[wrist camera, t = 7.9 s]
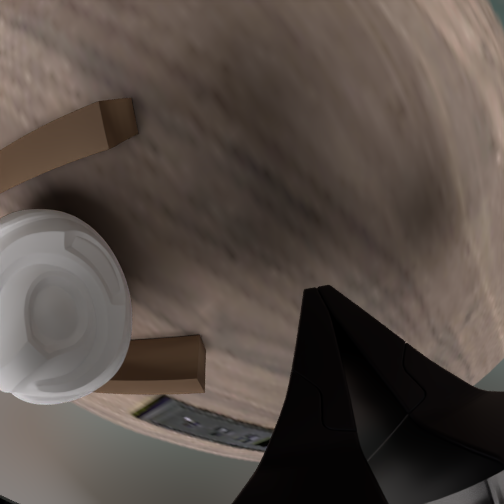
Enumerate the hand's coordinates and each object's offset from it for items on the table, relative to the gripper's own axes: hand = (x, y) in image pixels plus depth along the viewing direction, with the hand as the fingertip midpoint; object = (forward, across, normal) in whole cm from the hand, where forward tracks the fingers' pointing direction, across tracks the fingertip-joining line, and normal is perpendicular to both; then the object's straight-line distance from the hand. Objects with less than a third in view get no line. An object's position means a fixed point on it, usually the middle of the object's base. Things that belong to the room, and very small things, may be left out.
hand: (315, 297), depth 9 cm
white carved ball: (+4, +10, -1) cm, 11 cm away
